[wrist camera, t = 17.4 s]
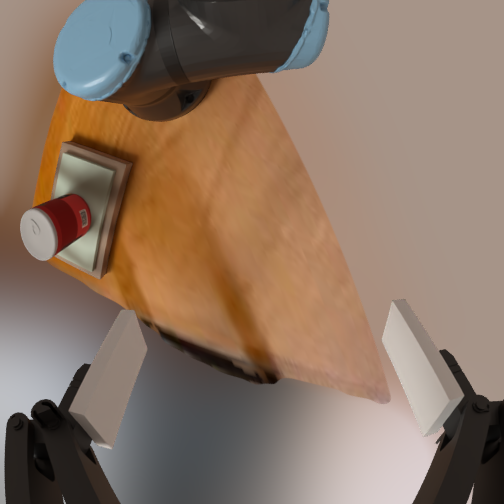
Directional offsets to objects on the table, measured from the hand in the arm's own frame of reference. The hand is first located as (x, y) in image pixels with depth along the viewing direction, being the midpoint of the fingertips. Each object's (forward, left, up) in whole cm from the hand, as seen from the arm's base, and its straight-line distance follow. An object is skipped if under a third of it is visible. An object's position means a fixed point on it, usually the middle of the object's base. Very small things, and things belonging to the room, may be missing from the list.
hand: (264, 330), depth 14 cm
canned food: (+1, -32, -30) cm, 44 cm away
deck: (+1, -32, -34) cm, 46 cm away
